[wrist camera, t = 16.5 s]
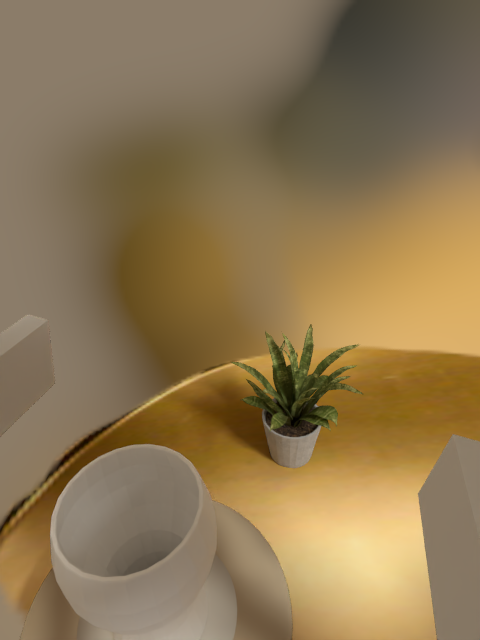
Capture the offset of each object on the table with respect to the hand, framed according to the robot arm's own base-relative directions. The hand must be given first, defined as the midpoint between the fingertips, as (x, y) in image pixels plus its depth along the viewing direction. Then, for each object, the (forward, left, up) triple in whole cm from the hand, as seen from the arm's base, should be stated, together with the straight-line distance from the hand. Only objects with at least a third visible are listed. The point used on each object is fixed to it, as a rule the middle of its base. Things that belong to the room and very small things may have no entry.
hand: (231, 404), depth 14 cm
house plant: (-21, -16, -33) cm, 42 cm away
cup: (+2, -9, -29) cm, 31 cm away
